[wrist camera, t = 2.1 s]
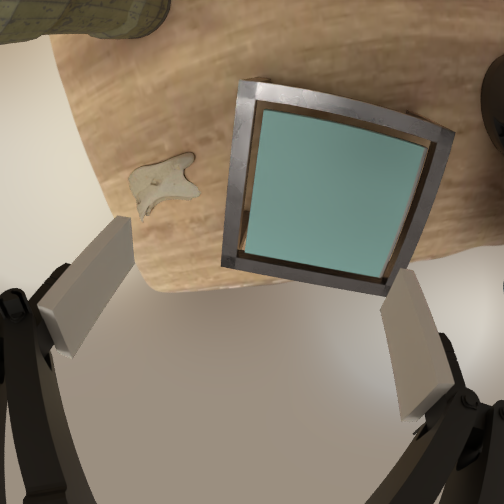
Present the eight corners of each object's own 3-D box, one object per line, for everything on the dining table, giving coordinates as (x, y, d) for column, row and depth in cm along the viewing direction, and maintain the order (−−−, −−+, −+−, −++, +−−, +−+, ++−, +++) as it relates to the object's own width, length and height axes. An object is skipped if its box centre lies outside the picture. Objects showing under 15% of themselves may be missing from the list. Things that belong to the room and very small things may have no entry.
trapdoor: (425, 146, 24) (429, 149, 23) (381, 272, 32) (383, 278, 31) (265, 108, 25) (263, 110, 24) (246, 247, 32) (244, 252, 32)
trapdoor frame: (417, 113, 30) (455, 132, 22) (377, 247, 41) (392, 297, 32) (257, 77, 31) (239, 79, 23) (239, 220, 42) (220, 266, 33)
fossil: (213, 192, 41) (206, 203, 38) (147, 214, 44) (137, 225, 41) (192, 144, 37) (183, 151, 35) (126, 172, 41) (114, 181, 38)
